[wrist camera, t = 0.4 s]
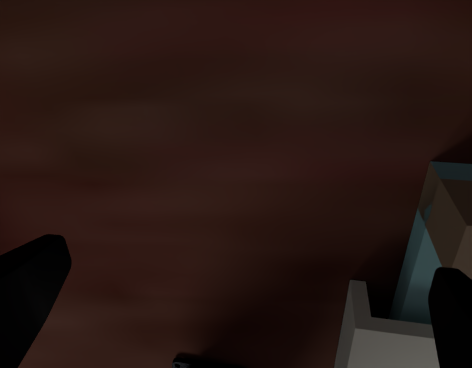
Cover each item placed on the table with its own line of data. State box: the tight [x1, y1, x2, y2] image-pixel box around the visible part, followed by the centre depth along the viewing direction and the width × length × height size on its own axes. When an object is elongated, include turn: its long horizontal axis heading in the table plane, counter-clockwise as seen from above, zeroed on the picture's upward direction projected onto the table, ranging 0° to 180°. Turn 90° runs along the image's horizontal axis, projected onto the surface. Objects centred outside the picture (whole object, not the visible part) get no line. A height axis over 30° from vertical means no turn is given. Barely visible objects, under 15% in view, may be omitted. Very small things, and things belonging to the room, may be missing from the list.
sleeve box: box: [334, 280, 440, 368], centre depth 26 cm, size 10×12×4 cm
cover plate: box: [388, 161, 472, 325], centre depth 22 cm, size 16×6×6 cm, turn 1°
